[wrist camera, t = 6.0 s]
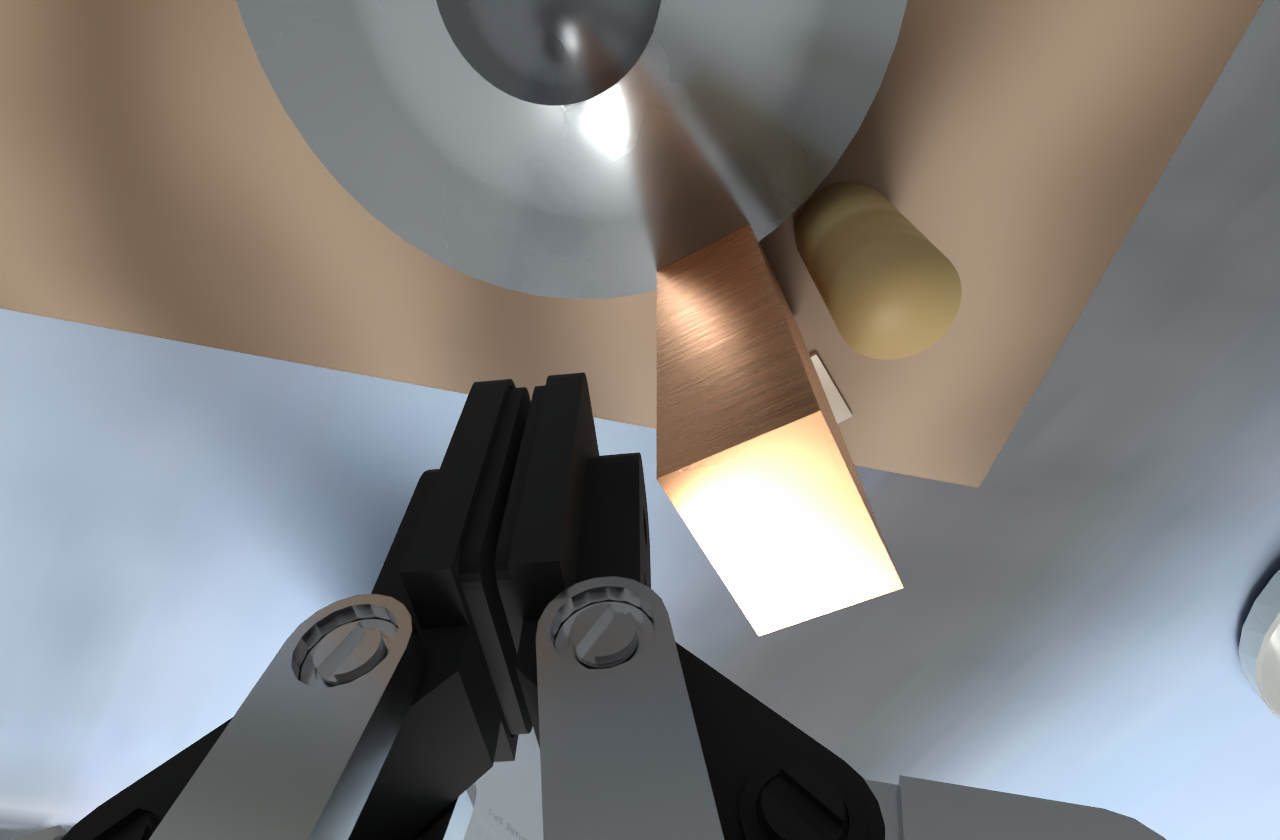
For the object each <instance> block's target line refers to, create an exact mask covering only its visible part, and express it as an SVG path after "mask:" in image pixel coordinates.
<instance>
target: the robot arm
mask: <svg viewBox="0 0 1280 840" xmlns="http://www.w3.org/2000/svg"><path fill="white" fill-rule="evenodd" d="M1238 653H1239V658H1240V664H1241V670H1242V673H1243V675H1244V676H1245V678H1246V680H1247V681H1248V683H1249V685H1250V686H1251V688H1252V689H1253V691H1254V692H1255V693H1256V694H1257V695H1258V696H1259V698H1260V699H1261V700H1262V701H1263V702H1264V703H1265V705H1266V706H1267V707H1268V708H1269V709H1270V710H1271V712H1272V713H1273V714H1274V715H1276V716H1277V717H1278V718H1280V569H1279V570H1278V571H1277V572H1276V573H1275V574H1274V575H1273V577H1272V578H1271V579H1270V581H1269V582H1268V584H1267V585H1266V586H1265V588H1264V589H1263V590H1262V592H1261V593H1260V594H1259V596H1258V597H1257V598H1256V600H1255V601H1254V604H1253V606H1252V608H1251V610H1250V612H1249V614H1248V616H1247V619H1246V621H1245V623H1244V625H1243V627H1242V632H1241V638H1240V644H1239V650H1238ZM532 727H533V728H534V732H535V735H536V738H537V742H538V745H539V749H540V761H541V787H542V813H543V839H544V840H1166V839H1165V838H1164V837H1162V836H1161V835H1159V834H1158V833H1156V832H1154V831H1153V830H1151V829H1150V828H1148V827H1146V826H1145V825H1143V824H1142V823H1140V822H1138V821H1137V820H1135V819H1134V818H1131V817H1128V816H1124V815H1121V814H1118V813H1115V812H1112V811H1109V810H1106V809H1102V808H1096V807H1090V806H1084V805H1078V804H1072V803H1065V802H1059V801H1053V800H1047V799H1041V798H1035V797H1029V796H1023V795H1017V794H1011V793H1004V792H998V791H992V790H986V789H980V788H974V787H968V786H962V785H956V784H950V783H943V782H937V781H931V780H925V779H919V778H913V777H907V776H901V775H900V777H899V782H898V785H895V784H889V783H883V782H877V781H871V780H865V779H864V778H862V777H861V776H860V775H859V774H858V773H857V772H856V771H855V770H854V769H853V768H852V767H851V766H849V765H848V764H847V763H846V762H845V761H844V760H842V759H841V758H839V757H838V756H837V755H835V754H834V753H832V752H831V751H830V750H828V749H827V748H825V747H824V746H822V745H821V744H820V743H818V742H817V741H815V740H814V739H813V738H811V737H810V736H808V735H807V734H805V733H804V732H803V731H801V730H800V729H798V728H797V727H795V726H794V725H793V724H791V723H790V722H788V721H787V720H786V719H784V718H783V717H781V716H780V715H778V714H777V713H776V712H774V711H773V710H771V709H770V708H768V707H767V706H766V705H764V704H763V703H761V702H760V701H759V700H757V699H756V698H754V697H753V696H751V695H750V694H749V693H747V692H746V691H744V690H743V689H742V688H740V687H739V686H737V685H736V684H734V683H733V682H732V681H730V680H729V679H727V678H726V677H724V676H723V675H722V674H720V673H719V672H717V671H716V670H715V669H713V668H712V667H710V666H709V665H707V664H706V663H705V662H703V661H702V660H700V659H699V658H697V657H696V656H695V655H693V654H692V653H690V652H689V651H688V650H686V649H685V648H683V647H682V646H680V645H679V644H678V643H676V642H675V639H674V635H673V631H672V627H671V623H670V619H669V615H668V612H667V610H666V608H665V606H664V603H663V601H662V599H661V598H660V597H659V596H658V595H657V594H656V593H655V592H654V591H653V590H652V589H651V574H650V541H649V525H648V512H647V501H646V492H645V483H644V475H643V467H642V459H641V454H640V453H629V454H617V455H605V456H599V452H598V445H597V439H596V432H595V426H594V420H593V413H592V407H591V401H590V394H589V388H588V382H587V378H586V374H585V372H583V373H572V374H561V375H549V376H548V377H547V381H546V385H543V386H535V388H534V391H533V395H532V399H531V400H530V396H529V392H528V389H527V388H526V387H519V388H516V386H515V384H514V382H513V380H512V379H503V380H492V381H480V382H474V383H473V385H472V387H471V390H470V392H469V395H468V398H467V400H466V403H465V405H464V408H463V410H462V413H461V416H460V418H459V421H458V423H457V426H456V428H455V431H454V434H453V436H452V439H451V441H450V444H449V446H448V449H447V452H446V454H445V457H444V459H443V462H442V464H441V467H440V469H434V470H427V471H425V472H424V473H423V474H422V476H421V477H420V479H419V482H418V484H417V486H416V489H415V491H414V493H413V496H412V498H411V501H410V503H409V505H408V508H407V510H406V513H405V515H404V517H403V520H402V522H401V524H400V527H399V529H398V532H397V534H396V536H395V539H394V541H393V544H392V546H391V548H390V551H389V553H388V555H387V558H386V560H385V563H384V565H383V567H382V570H381V572H380V574H379V577H378V579H377V582H376V584H375V586H374V589H373V591H372V594H368V595H356V596H353V597H350V598H346V599H343V600H339V601H336V602H334V603H332V604H331V605H329V606H327V607H325V608H323V609H321V610H319V611H317V612H316V613H314V614H313V615H312V616H310V617H309V618H308V619H307V620H305V621H304V622H303V623H301V624H300V625H299V626H298V627H297V629H296V630H295V631H294V632H293V633H292V634H291V635H290V637H289V638H288V639H287V640H286V641H285V643H284V644H283V646H282V647H281V649H280V650H279V652H278V653H277V655H276V656H275V657H274V659H273V660H272V662H271V663H270V665H269V666H268V668H267V669H266V670H265V672H264V673H263V675H262V676H261V678H260V679H259V681H258V682H257V683H256V685H255V686H254V688H253V689H252V691H251V692H250V694H249V695H248V697H247V698H246V699H245V701H244V702H243V704H242V705H241V707H240V708H239V710H238V711H237V712H236V714H235V715H234V717H233V718H231V719H230V720H228V721H227V722H225V723H224V724H222V725H221V726H219V727H218V728H216V729H215V730H213V731H212V732H210V733H209V734H207V735H206V736H204V737H203V738H201V739H200V740H198V741H196V742H195V743H193V744H192V745H190V746H189V747H187V748H186V749H184V750H183V751H181V752H180V753H178V754H177V755H175V756H174V757H172V758H171V759H169V760H168V761H166V762H165V763H163V764H162V765H160V766H159V767H157V768H156V769H154V770H153V771H151V772H150V773H148V774H147V775H145V776H144V777H142V778H141V779H139V780H138V781H136V782H135V783H133V784H132V785H130V786H129V787H127V788H126V789H124V790H123V791H121V792H120V793H118V794H117V795H115V796H114V797H112V798H111V799H109V800H108V801H106V802H105V803H103V804H102V805H100V806H99V807H97V808H96V809H95V810H93V811H92V812H91V813H90V814H88V815H87V816H86V817H84V818H83V819H82V820H81V821H79V822H78V823H77V824H76V825H74V826H73V827H72V828H71V830H70V831H69V832H68V833H67V832H66V831H65V830H64V829H63V828H62V827H61V826H60V825H58V826H55V827H51V828H47V829H44V830H40V831H37V832H33V833H30V834H26V835H22V836H19V837H15V838H11V839H8V840H463V839H464V836H465V834H466V831H467V828H468V825H469V822H470V819H471V816H472V813H473V810H474V805H475V800H476V794H477V789H476V781H477V780H478V779H479V778H480V777H482V776H483V775H484V774H485V773H486V772H487V771H488V770H490V769H491V768H492V767H493V764H494V762H504V761H515V755H516V748H517V742H518V735H519V734H529V733H530V732H531V730H532Z"/></svg>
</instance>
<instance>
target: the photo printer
mask: <svg viewBox="0 0 1280 840" xmlns="http://www.w3.org/2000/svg"><path fill="white" fill-rule="evenodd" d="M476 789H477V794H476V800H475V805H474V810H473V813H472V816H471V819H470V822H469V825H468V828H467V831H466V834H465V836H464V839H463V840H544V839H543V813H542V787H541V761H540V749H539V745H538V742H537V738H536V735H535V732H534V728H533V727H532V730H531V732H530V733H529V734H519V735H518V742H517V748H516V755H515V761H504V762H494V764H493V767H492V768H491V769H490V770H488V771H487V772H486V773H485V774H484V775H483V776H482V777H480V778H479V779H478V780H477V781H476Z"/></svg>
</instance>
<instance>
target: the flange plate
mask: <svg viewBox="0 0 1280 840" xmlns="http://www.w3.org/2000/svg"><path fill="white" fill-rule="evenodd" d="M907 1H908V0H237V4H238V7H239V11H240V14H241V17H242V20H243V23H244V25H245V28H246V30H247V33H248V35H249V37H250V40H251V42H252V45H253V47H254V50H255V52H256V55H257V57H258V60H259V62H260V65H261V67H262V69H263V71H264V72H265V74H266V76H267V78H268V80H269V82H270V84H271V86H272V88H273V89H274V91H275V93H276V95H277V97H278V99H279V101H280V103H281V105H282V106H283V108H284V110H285V112H286V113H287V115H288V116H289V118H290V119H291V121H292V122H293V124H294V125H295V127H296V128H297V130H298V131H299V133H300V134H301V136H302V137H303V139H304V140H305V142H306V143H307V145H308V146H309V148H310V149H311V150H312V151H313V153H314V154H315V155H316V156H317V157H318V159H319V160H320V161H321V162H322V163H323V165H324V166H325V167H326V168H327V170H328V171H329V172H330V173H331V174H332V176H333V177H334V178H335V179H336V180H337V182H338V183H339V184H340V185H341V186H342V187H343V188H344V189H345V190H346V191H347V192H348V193H349V194H350V195H351V196H352V197H353V198H354V199H355V200H356V201H357V202H358V203H359V204H361V205H362V206H363V207H364V208H365V209H366V210H367V211H368V212H369V213H370V214H371V215H372V216H374V217H375V218H376V219H377V220H379V221H380V222H381V223H382V224H384V225H385V226H386V227H387V228H389V229H390V230H391V231H392V232H394V233H395V234H396V235H398V236H399V237H400V238H401V239H403V240H405V241H406V242H408V243H409V244H411V245H412V246H414V247H416V248H417V249H419V250H420V251H422V252H424V253H425V254H427V255H428V256H430V257H432V258H433V259H435V260H437V261H439V262H441V263H443V264H445V265H447V266H449V267H451V268H453V269H455V270H457V271H460V272H462V273H464V274H466V275H468V276H470V277H473V278H476V279H479V280H482V281H485V282H488V283H490V284H493V285H496V286H499V287H502V288H505V289H510V290H514V291H519V292H523V293H528V294H532V295H537V296H544V297H555V298H565V299H611V298H617V297H624V296H631V295H637V294H644V293H648V292H652V291H655V290H657V480H658V481H659V483H660V485H661V486H662V488H663V489H664V491H665V492H666V494H667V495H668V497H669V498H670V500H671V501H672V503H673V505H674V506H675V508H676V509H677V511H678V512H679V514H680V515H681V517H682V518H683V520H684V521H685V523H686V525H687V526H688V528H689V529H690V531H691V532H692V534H693V535H694V537H695V538H696V540H697V542H698V543H699V545H700V546H701V548H702V549H703V551H704V552H705V554H706V555H707V557H708V558H709V560H710V562H711V563H712V565H713V566H714V568H715V569H716V571H717V572H718V574H719V575H720V577H721V578H722V580H723V582H724V583H725V585H726V586H727V588H728V589H729V591H730V592H731V594H732V595H733V597H734V599H735V600H736V602H737V603H738V605H739V606H740V608H741V609H742V611H743V612H744V614H745V615H746V617H747V619H748V620H749V622H750V623H751V625H752V626H753V628H754V629H755V631H756V632H757V634H758V635H759V636H760V635H763V634H766V633H769V632H772V631H775V630H778V629H781V628H784V627H787V626H790V625H793V624H796V623H799V622H802V621H805V620H808V619H811V618H814V617H817V616H820V615H823V614H826V613H829V612H832V611H835V610H838V609H841V608H844V607H847V606H850V605H853V604H856V603H859V602H862V601H865V600H868V599H871V598H874V597H877V596H880V595H883V594H886V593H889V592H892V591H895V590H898V589H901V588H903V585H902V583H901V580H900V578H899V575H898V573H897V571H896V568H895V566H894V563H893V561H892V558H891V556H890V553H889V551H888V548H887V546H886V543H885V541H884V538H883V536H882V533H881V531H880V528H879V526H878V523H877V521H876V518H875V516H874V513H873V511H872V508H871V506H870V504H869V501H868V499H867V496H866V494H865V491H864V489H863V486H862V484H861V481H860V479H859V476H858V474H857V471H856V469H855V466H854V464H853V461H852V459H851V456H850V454H849V451H848V449H847V446H846V444H845V442H844V439H843V437H842V434H841V432H840V429H839V427H838V424H837V422H836V419H835V417H834V414H833V412H832V409H831V407H830V404H829V402H828V399H827V397H826V394H825V392H824V389H823V387H822V384H821V382H820V380H819V377H818V375H817V372H816V370H815V367H814V365H813V362H812V360H811V357H810V355H809V352H808V350H807V347H806V345H805V342H804V340H803V337H802V335H801V332H800V330H799V327H798V325H797V323H796V321H795V318H794V316H793V314H792V312H791V310H790V307H789V305H788V303H787V301H786V299H785V296H784V294H783V292H782V290H781V288H780V285H779V283H778V281H777V279H776V277H775V274H774V272H773V270H772V268H771V266H770V263H769V261H768V259H767V257H766V255H765V252H764V250H763V248H762V246H761V244H760V240H761V239H763V238H764V237H765V236H767V235H768V234H769V233H771V232H772V231H773V230H775V229H776V228H777V227H778V226H779V225H781V224H782V223H783V222H784V221H785V220H786V219H787V218H788V217H789V216H790V215H791V214H792V213H793V212H794V211H795V210H796V209H797V208H798V207H800V206H801V205H802V204H803V203H804V202H805V201H806V200H807V199H808V198H809V196H810V195H811V194H812V193H813V192H814V190H815V189H816V188H817V187H818V186H819V184H820V183H821V182H822V181H823V180H824V178H825V177H826V176H827V175H828V174H829V172H830V171H831V170H832V169H833V168H834V166H835V165H836V163H837V162H838V160H839V159H840V157H841V155H842V154H843V152H844V151H845V149H846V148H847V146H848V145H849V143H850V142H851V140H852V139H853V137H854V136H855V134H856V133H857V131H858V129H859V128H860V126H861V124H862V122H863V120H864V118H865V116H866V114H867V112H868V110H869V108H870V106H871V104H872V102H873V100H874V98H875V96H876V94H877V92H878V90H879V88H880V85H881V83H882V80H883V78H884V75H885V72H886V70H887V67H888V64H889V62H890V59H891V56H892V54H893V51H894V48H895V46H896V43H897V40H898V36H899V32H900V28H901V24H902V20H903V16H904V12H905V8H906V5H907Z"/></svg>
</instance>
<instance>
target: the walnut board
mask: <svg viewBox="0 0 1280 840" xmlns="http://www.w3.org/2000/svg"><path fill="white" fill-rule="evenodd" d="M1263 1H1264V0H908V1H907V5H906V8H905V12H904V16H903V20H902V24H901V28H900V32H899V36H898V40H897V43H896V46H895V48H894V51H893V54H892V56H891V59H890V62H889V64H888V67H887V70H886V72H885V75H884V78H883V80H882V83H881V85H880V88H879V90H878V92H877V94H876V96H875V98H874V100H873V102H872V104H871V106H870V108H869V110H868V112H867V114H866V116H865V118H864V120H863V122H862V124H861V126H860V128H859V129H858V131H857V133H856V134H855V136H854V137H853V139H852V140H851V142H850V143H849V145H848V146H847V148H846V149H845V151H844V152H843V154H842V155H841V157H840V159H839V160H838V162H837V163H836V165H835V166H834V168H833V169H832V170H831V171H830V172H829V174H828V175H827V176H826V177H825V178H824V180H823V181H822V182H821V183H820V184H819V186H818V187H817V188H816V189H815V190H814V192H813V193H812V194H811V195H810V196H809V198H808V199H807V200H806V201H805V202H804V203H803V204H802V205H801V206H800V207H798V208H797V209H796V210H795V211H794V212H793V213H792V214H791V215H790V216H789V217H788V218H787V219H786V220H785V221H784V222H783V223H782V224H781V225H779V226H778V227H777V228H776V229H775V230H773V231H772V232H771V233H769V234H768V235H767V236H765V237H764V238H763V239H761V240H760V244H761V246H762V248H763V250H764V252H765V255H766V257H767V259H768V261H769V263H770V266H771V268H772V270H773V272H774V274H775V277H776V279H777V281H778V283H779V285H780V288H781V290H782V292H783V294H784V296H785V299H786V301H787V303H788V305H789V307H790V310H791V312H792V314H793V316H794V318H795V321H796V323H797V325H798V327H799V330H800V332H801V335H802V337H803V340H804V342H805V345H806V347H807V350H808V352H809V355H810V357H811V360H812V362H813V365H814V367H815V370H816V372H817V375H818V377H819V380H820V382H821V384H822V387H823V389H824V392H825V394H826V397H827V399H828V402H829V404H830V407H831V409H832V412H833V414H834V417H835V419H836V422H837V424H838V427H839V429H840V432H841V434H842V437H843V439H844V442H845V444H846V446H847V449H848V451H849V454H850V456H851V459H852V461H853V464H854V465H857V466H863V467H868V468H873V469H879V470H884V471H890V472H895V473H901V474H906V475H912V476H917V477H923V478H928V479H933V480H939V481H944V482H950V483H955V484H961V485H966V486H972V487H977V488H979V486H980V484H981V483H982V481H983V479H984V478H985V476H986V474H987V473H988V471H989V469H990V467H991V466H992V464H993V462H994V461H995V459H996V457H997V455H998V454H999V452H1000V450H1001V449H1002V447H1003V445H1004V443H1005V442H1006V440H1007V438H1008V437H1009V435H1010V433H1011V431H1012V430H1013V428H1014V426H1015V425H1016V423H1017V421H1018V420H1019V418H1020V416H1021V414H1022V413H1023V411H1024V409H1025V408H1026V406H1027V404H1028V402H1029V401H1030V399H1031V397H1032V396H1033V394H1034V392H1035V390H1036V389H1037V387H1038V385H1039V384H1040V382H1041V380H1042V378H1043V377H1044V375H1045V373H1046V372H1047V370H1048V368H1049V367H1050V365H1051V363H1052V361H1053V360H1054V358H1055V356H1056V355H1057V353H1058V351H1059V349H1060V348H1061V346H1062V344H1063V343H1064V341H1065V339H1066V337H1067V336H1068V334H1069V332H1070V331H1071V329H1072V327H1073V325H1074V324H1075V322H1076V320H1077V319H1078V317H1079V315H1080V314H1081V312H1082V310H1083V308H1084V307H1085V305H1086V303H1087V302H1088V300H1089V298H1090V296H1091V295H1092V293H1093V291H1094V290H1095V288H1096V286H1097V284H1098V283H1099V281H1100V279H1101V278H1102V276H1103V274H1104V272H1105V271H1106V269H1107V267H1108V266H1109V264H1110V262H1111V261H1112V259H1113V257H1114V255H1115V254H1116V252H1117V250H1118V249H1119V247H1120V245H1121V243H1122V242H1123V240H1124V238H1125V237H1126V235H1127V233H1128V231H1129V230H1130V228H1131V226H1132V225H1133V223H1134V221H1135V219H1136V218H1137V216H1138V214H1139V213H1140V211H1141V209H1142V207H1143V206H1144V204H1145V202H1146V201H1147V199H1148V197H1149V196H1150V194H1151V192H1152V190H1153V189H1154V187H1155V185H1156V184H1157V182H1158V180H1159V178H1160V177H1161V175H1162V173H1163V172H1164V170H1165V168H1166V166H1167V165H1168V163H1169V161H1170V160H1171V158H1172V156H1173V154H1174V153H1175V151H1176V149H1177V148H1178V146H1179V144H1180V143H1181V141H1182V139H1183V137H1184V136H1185V134H1186V132H1187V131H1188V129H1189V127H1190V125H1191V124H1192V122H1193V120H1194V119H1195V117H1196V115H1197V113H1198V112H1199V110H1200V108H1201V107H1202V105H1203V103H1204V101H1205V100H1206V98H1207V96H1208V95H1209V93H1210V91H1211V90H1212V88H1213V86H1214V84H1215V83H1216V81H1217V79H1218V78H1219V76H1220V74H1221V72H1222V71H1223V69H1224V67H1225V66H1226V64H1227V62H1228V60H1229V59H1230V57H1231V55H1232V54H1233V52H1234V50H1235V48H1236V47H1237V45H1238V43H1239V42H1240V40H1241V38H1242V37H1243V35H1244V33H1245V31H1246V30H1247V28H1248V26H1249V25H1250V23H1251V21H1252V19H1253V18H1254V16H1255V14H1256V13H1257V11H1258V9H1259V7H1260V6H1261V4H1262V2H1263ZM0 308H1V309H7V310H12V311H18V312H23V313H28V314H34V315H39V316H45V317H50V318H56V319H61V320H67V321H72V322H78V323H83V324H88V325H94V326H99V327H105V328H110V329H116V330H121V331H127V332H132V333H137V334H143V335H148V336H154V337H159V338H165V339H170V340H176V341H181V342H187V343H192V344H197V345H203V346H208V347H214V348H219V349H225V350H230V351H236V352H241V353H247V354H252V355H257V356H263V357H268V358H274V359H279V360H285V361H290V362H296V363H301V364H306V365H312V366H317V367H323V368H328V369H334V370H339V371H345V372H350V373H356V374H361V375H366V376H372V377H377V378H383V379H388V380H394V381H399V382H405V383H410V384H416V385H421V386H426V387H432V388H437V389H443V390H448V391H454V392H459V393H465V394H469V392H470V390H471V387H472V385H473V383H474V382H480V381H492V380H503V379H512V380H513V382H514V384H515V386H516V388H519V387H526V388H527V389H528V392H529V396H530V400H531V399H532V395H533V391H534V388H535V386H543V385H546V381H547V377H548V376H549V375H561V374H572V373H583V372H585V374H586V378H587V382H588V388H589V394H590V401H591V407H592V413H593V417H595V418H601V419H606V420H612V421H617V422H623V423H628V424H634V425H639V426H644V427H650V428H655V429H657V290H655V291H652V292H648V293H644V294H637V295H631V296H624V297H617V298H611V299H565V298H555V297H544V296H537V295H532V294H528V293H523V292H519V291H514V290H510V289H505V288H502V287H499V286H496V285H493V284H490V283H488V282H485V281H482V280H479V279H476V278H473V277H470V276H468V275H466V274H464V273H462V272H460V271H457V270H455V269H453V268H451V267H449V266H447V265H445V264H443V263H441V262H439V261H437V260H435V259H433V258H432V257H430V256H428V255H427V254H425V253H424V252H422V251H420V250H419V249H417V248H416V247H414V246H412V245H411V244H409V243H408V242H406V241H405V240H403V239H401V238H400V237H399V236H398V235H396V234H395V233H394V232H392V231H391V230H390V229H389V228H387V227H386V226H385V225H384V224H382V223H381V222H380V221H379V220H377V219H376V218H375V217H374V216H372V215H371V214H370V213H369V212H368V211H367V210H366V209H365V208H364V207H363V206H362V205H361V204H359V203H358V202H357V201H356V200H355V199H354V198H353V197H352V196H351V195H350V194H349V193H348V192H347V191H346V190H345V189H344V188H343V187H342V186H341V185H340V184H339V183H338V182H337V180H336V179H335V178H334V177H333V176H332V174H331V173H330V172H329V171H328V170H327V168H326V167H325V166H324V165H323V163H322V162H321V161H320V160H319V159H318V157H317V156H316V155H315V154H314V153H313V151H312V150H311V149H310V148H309V146H308V145H307V143H306V142H305V140H304V139H303V137H302V136H301V134H300V133H299V131H298V130H297V128H296V127H295V125H294V124H293V122H292V121H291V119H290V118H289V116H288V115H287V113H286V112H285V110H284V108H283V106H282V105H281V103H280V101H279V99H278V97H277V95H276V93H275V91H274V89H273V88H272V86H271V84H270V82H269V80H268V78H267V76H266V74H265V72H264V71H263V69H262V67H261V65H260V62H259V60H258V57H257V55H256V52H255V50H254V47H253V45H252V42H251V40H250V37H249V35H248V33H247V30H246V28H245V25H244V23H243V20H242V17H241V14H240V11H239V7H238V4H237V0H0Z"/></svg>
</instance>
